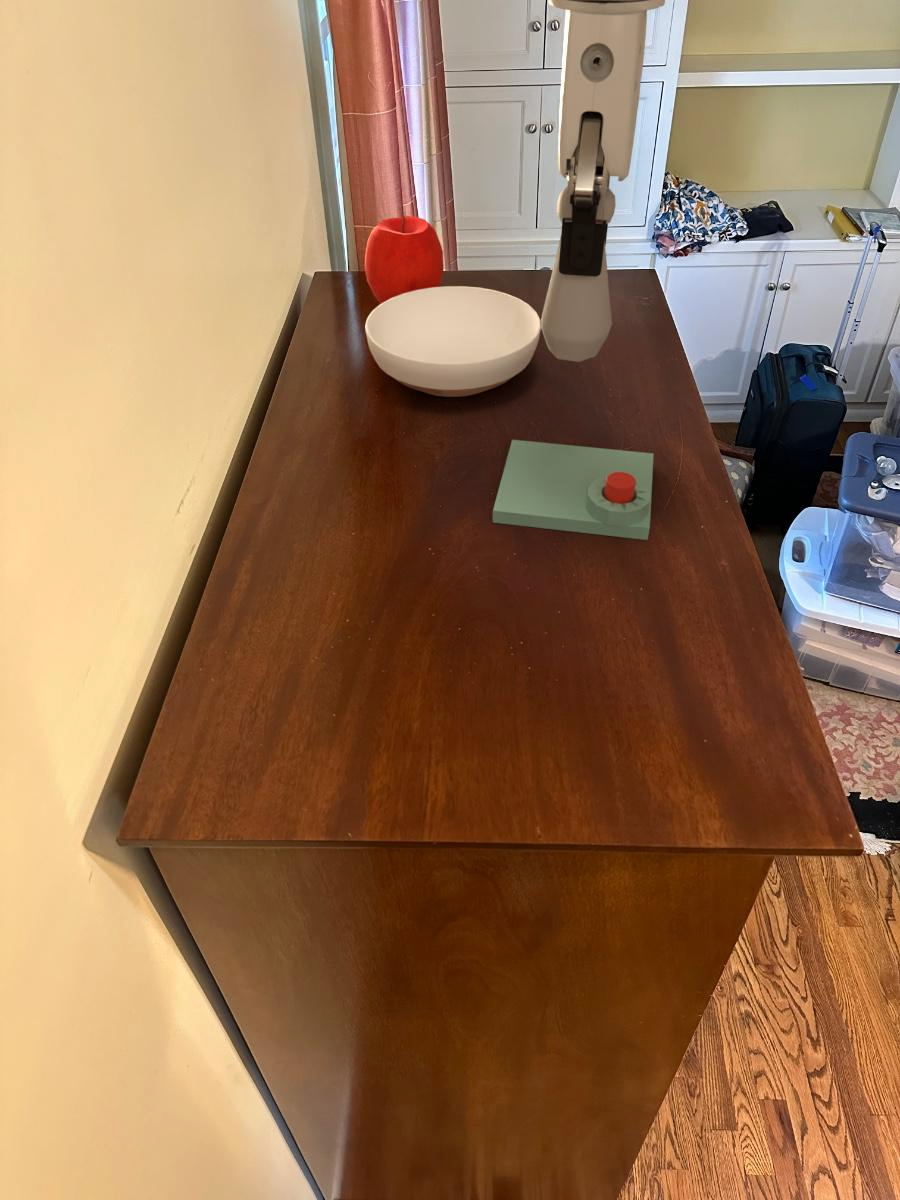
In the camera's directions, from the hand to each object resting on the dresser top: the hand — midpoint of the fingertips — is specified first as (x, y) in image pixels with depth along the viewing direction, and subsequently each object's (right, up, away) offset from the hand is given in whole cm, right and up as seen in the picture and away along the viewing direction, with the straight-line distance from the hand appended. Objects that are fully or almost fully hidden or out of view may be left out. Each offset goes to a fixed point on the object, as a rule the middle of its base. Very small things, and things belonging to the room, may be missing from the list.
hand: (582, 258), depth 67 cm
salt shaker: (0, -6, +5) cm, 8 cm away
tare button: (+5, -17, +10) cm, 20 cm away
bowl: (-10, -1, +32) cm, 34 cm away
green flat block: (+2, -17, +15) cm, 22 cm away
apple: (-16, +10, +44) cm, 47 cm away
